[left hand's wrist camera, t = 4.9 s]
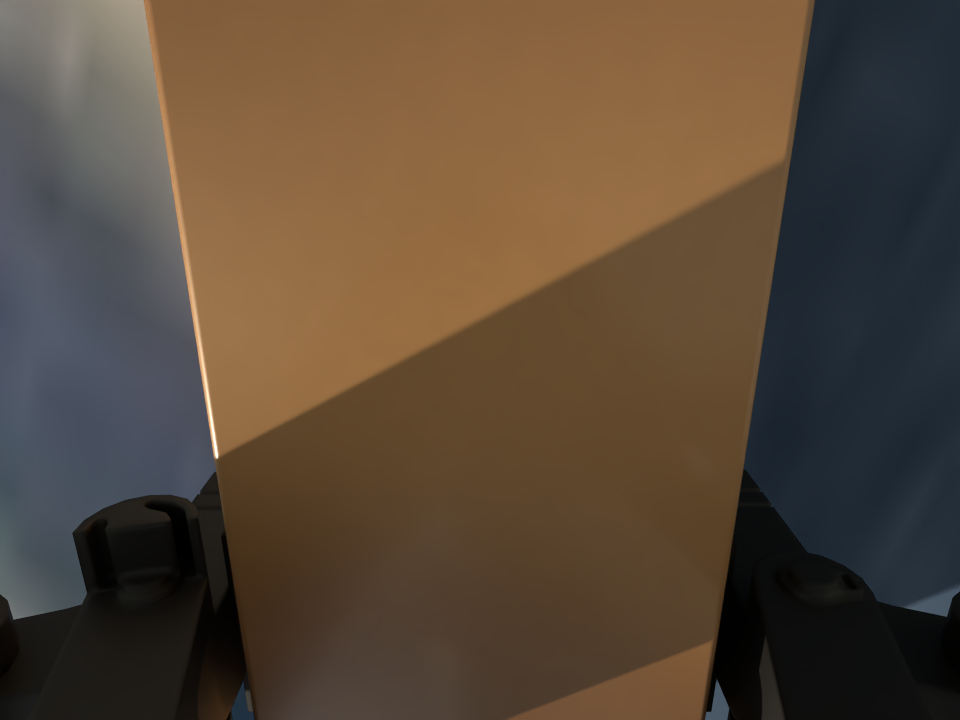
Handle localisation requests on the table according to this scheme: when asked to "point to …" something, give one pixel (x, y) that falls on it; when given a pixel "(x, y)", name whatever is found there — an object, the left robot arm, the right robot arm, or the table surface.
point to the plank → (479, 336)
